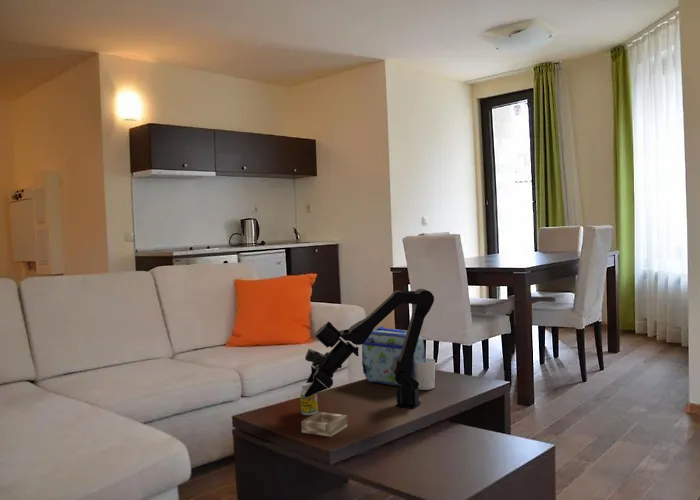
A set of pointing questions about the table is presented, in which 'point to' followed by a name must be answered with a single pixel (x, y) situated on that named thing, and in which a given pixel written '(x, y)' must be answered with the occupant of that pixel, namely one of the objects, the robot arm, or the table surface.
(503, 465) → the table surface
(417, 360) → the lunch box
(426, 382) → the white cup
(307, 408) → the supplement bottle
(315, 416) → the holder
